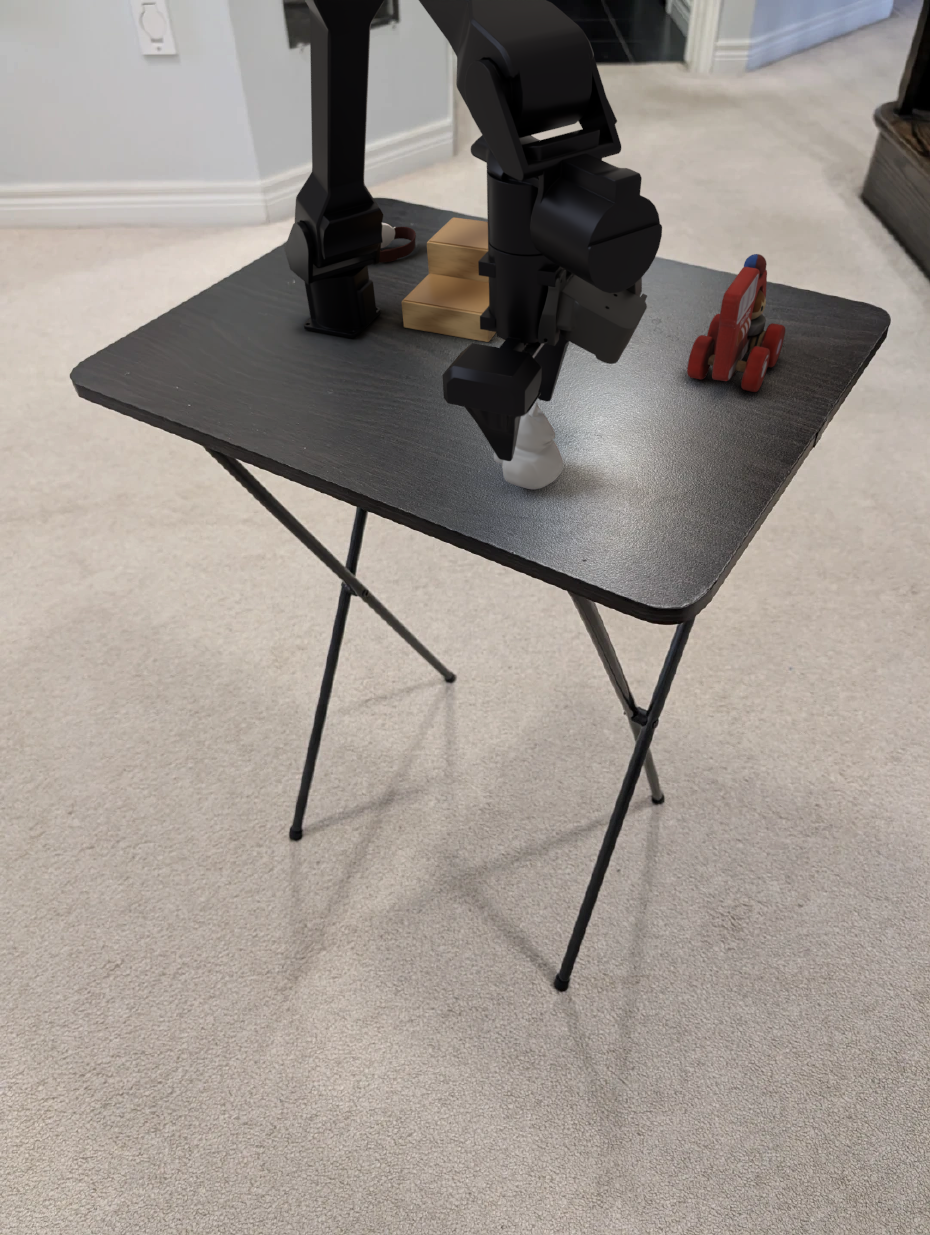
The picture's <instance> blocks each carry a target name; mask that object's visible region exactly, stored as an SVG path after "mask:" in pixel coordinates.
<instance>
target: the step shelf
mask: <svg viewBox="0 0 930 1235" xmlns="http://www.w3.org/2000/svg"><path fill="white" fill-rule="evenodd" d="M426 250H427V254H426V255H427V267H428V274H427V275H426V276H425V277H424V278H423V279H422V280H421V281H420V282H419V283H418V284H417V285H416V286H415V287H414V288H413V289H412V290H411V291H410V292H409V293H408V294H407V295H406V296H405V297H404V298H403V299H402V300H401V311H402V312H401V313H402V321H403V328H406V329H411V330H418V331H422V332H423V331H424V332H429V333H434V334H440V335H445V336H451V337H456V338H461V339H467V340H468V339H469V340H474V341H479V342H484V343H485V342H486V343H489V342H490V341H491V340H492V338H494V336H495V335H496V334H497V332H493V331H487V330H482V329H480V316H481V315H482V313H483V312H484V311H485V310H486V309H487V307H488V306H489V277H486V276H480V275H479V269H478V261H479V260H480V259H481V258H482V257H483V256H484V255H485V254H486V253H487V252H488V221H485V220H478V219H477V220H476V219H469V218H461V217H452V218H451V219H449V221H448V222H446V223H445V224H444V225H443V226H442V227H441V228H440V229H439V230H437V232H436V233H434V235H432V236H431V238H430V239H428V241H427V242H426Z"/></svg>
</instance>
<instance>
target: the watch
mask: <svg viewBox="0 0 930 1235" xmlns="http://www.w3.org/2000/svg"><path fill="white" fill-rule="evenodd" d="M416 237H417V232H416V231H415V230H414V229H413V228H411V227H409V226H394V227H393V226H391V225H390V224H388V223H386V222H383V221H382V241H383V242H382V243H381V249H383V250H381V251H380V262H379V263H389V262H395V261H396V260H399V259H402V258H405V257H407V256H409V255H410V254H412V253H413V251H414V250H415V248H416ZM399 239H404V240H408V241H409V242H408V243H406V244H404V245H401V246H397V247H393V248H386V247H388V246H389V245H390V244H391V243H392V242H393V240H399ZM384 248H386V249H384Z"/></svg>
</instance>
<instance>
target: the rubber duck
mask: <svg viewBox="0 0 930 1235" xmlns="http://www.w3.org/2000/svg"><path fill="white" fill-rule="evenodd" d="M538 404H539V403H538V401H536V402H535V403H534V405H533V406H532V408H531V409H530V411H529V412H528V413H527V414H525V415H524V416H521V419H520V424H519V430H518V436H517V441H516V447H515V451H514V456H513V459H512V460H511V461H505V460H501V459H499V458H498V457H497V455H496V453H495V452H494V451H493V460H494V462H496V463H497V464H499V465H501V466H502V474H503V478H504V480H505V481H506V483H508V484H511V485H514V486H517V487H520V488H524V489H528V490H539V489H542V488H544V487H547V486H548V485H551V483H553V482H554V481H556V480H557V479H558V477H559V476H560V475H561V473H563V470H564V459H563V457H562V454H561V451H560V449H559V447H558V445H557V443H556V442H555V440H554V439H555V438H556V432H555V429H554V428H553V426H552V424H551V423H550V421H549V419H548V417H547V416H546V414H545V413H544V412H543V411H542V410H541V408H540V406H539V405H538Z"/></svg>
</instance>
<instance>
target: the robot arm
mask: <svg viewBox="0 0 930 1235" xmlns="http://www.w3.org/2000/svg"><path fill="white" fill-rule="evenodd" d="M304 1H305V3H306V5H307V7H308V11H309V44H310V46H309V47H310V50H309V51H310V54H309V55H310V104H311V105H310V108H311V109H310V110H311V114H310V115H311V173H310V174H309V176H308V177H307V179H306V181H305V182H304V183H303V185H302V187H301V188H300V190H299V192H298V193H297V194H296V196H295V208H294V222H293V223H292V227H291V228H290V231H289V235H288V238H287V240H286V242H285V245H284V253H285V256H286V260H287V263H288V264H287V265H288V267H289V269H290V271H291V272H293V273H294V274H295V275H296V276H297V277H298V278H300V279H301V280H302V281H303V282H304V288H305V293H306V299H307V300H306V301H307V304H308V305H307V306H308V310H309V311H308V312H309V316H310V317H309V318H308V319H307V320H306V321H305V322H304V323H303V324H302V325H303V329H304V330H305V331H312V332H317V333H323V334H329V335H333V336H338V337H344V338H350V339H354V338H356V337H358V336H359V335H360V334H361V333H362V332H363V331H364V330H365V329H366V328H367V327H368V326H369V325H371V323H372V322H374V321H375V319H376V318H377V317H378V316H380V314H381V308H380V307H378V306H377V305H376V304H377V302H376V296H375V295H376V294H375V287H374V281H373V279H371V278H370V275H369V267H368V266H371V265H377V264H380V263H381V262H380V251H382V250H381V249H382V248H381V243H382V242H383V241H382V222H383V220H384V213H383V211H382V210H381V208H380V206H379V205H378V203H377V201H376V200H375V198H374V197H373V195H372V194H371V192H370V190H369V189H368V187H367V186H366V184H365V167H366V144H367V142H366V141H367V122H368V121H367V119H368V97H369V96H368V93H369V92H368V91H369V70H370V47H371V46H370V45H371V27H372V22H373V20H374V19H375V17H376V15H377V14H378V12H379V11H380V9H381V8H382V5H383V4H384V2H385V0H304ZM418 1H419V3H420V4H421V6H422V7H423V8H424V10H425V11H426V12H427V14H428V16H429V17H430V18H431V19H432V21H433V22H434V24H435V25H436V27H438V29H439V30H440V32H441V33H442V34H443V36H444V37H445V39H446V40H447V41H448V43H449V45H450V47H451V49H452V50H453V53H454V54H455V56H456V79H455V80H456V82H455V83H456V89H457V91H458V93H459V95H460V96H461V98H462V100H463V102H464V104H465V105H466V107H467V109H468V111H469V113H470V115H471V118H472V119H473V121H474V124H475V125H476V127H477V128H478V130H479V132H480V133H481V136H479V137H478V138H477V139H476V140H475V141H474V142H473V143H472V144H471V146H470V153H471V155H472V156H473V157H474V158H476V159H478V160H480V161H482V162H484V163H486V208H487V210H486V211H487V212H486V213H487V222H488V252H487V253H486V254H485V255H484V256H483V257H482V258H481V259H480V260H479V261H478V269H479V275H480V276H486V277H489V306H488V307H487V309H486V310H485V311H484V312H483V313H482V315H481V316H480V329H482V330H487V331H493V332H496V336H497V337H498V338H500V339H501V340H504V341H503V342H502V344H501V345H500V346H499V347H498V346H491V345H486V344H482V343H481V344H480V343H474V342H471V343H470V344H469V345H468V346H467V347H466V348H464V349H463V350H462V351H461V352H460V353H459V354H458V355H457V357H456V358H454V360H453V361H452V363H451V364H450V365H449V367H448V368H447V369H446V370H445V371H444V372H443V373H442V378H441V379H442V391H443V399H444V401H445V402H446V403H447V405H448V404H449V405H453V406H457V407H463V408H464V409H465V410H466V411H467V413H468V414H469V416H471V417H472V419H473V420H474V422H475V424H476V425H477V426H478V428H479V429H480V431H481V432H482V434H483V436H484V437H485V439H486V440H487V442H488V444H489V445H490V447H491V448H492V450H493V453H494V452H495V453H496V455H497V457H498V458H499V459H501V460H505V461H511V460H512V459H513V456H514V451H515V447H516V441H517V436H518V430H519V424H520V419H521V416H524V415H525V414H527V413H528V412H529V411H530V409H531V408H532V407H533V406H534V405H535V403H536V402H537V401H538V400H539V401H543V402H551V400H552V399H553V396H554V393H555V389H556V386H557V383H558V379H559V377H560V373H561V370H562V367H563V363H564V360H565V357H566V354H567V350H568V347H569V345H570V343H571V344H573V345H575V346H577V347H579V348H581V349H582V350H584V351H586V352H588V353H590V354H592V355H594V356H595V358H596V359H597V360H598V361H600V362H602V363H604V364H607V365H614V364H617V363H618V361H619V360H620V358H621V357H622V355H623V354H624V351H625V350H626V348H627V346H628V345H629V343H630V341H631V339H632V338H633V335H634V333H635V332H636V329H637V328H638V325H639V324H640V322H641V320H642V318H643V316H644V314H645V312H646V310H647V308H648V305H647V303H646V300H647V298H648V295H647V294H645V293H642V291H643V277H644V275H645V274H646V273H647V272H648V271H649V269H650V267H651V266H652V264H653V262H654V260H655V259H656V256H657V254H658V251H659V249H660V245H661V241H662V238H663V225H662V224H661V220H660V215H659V212H658V209H657V206H656V205H655V204H654V203H653V202H652V201H651V200H650V199H649V198H647V197H645V196H643V195H641V189H642V175H641V173H640V172H638V171H635V170H633V169H631V168H628V167H619V166H615V165H614V164H611V163H609V162H607V161H605V160H603V159H604V158H608V157H611V156H615V155H619V154H620V153H621V151H622V143H621V140H620V137H619V132H618V130H617V128H616V124H617V122H618V120H617V117H616V115H615V112H614V110H613V108H612V106H611V104H610V101H609V99H608V96H607V94H606V91H605V87H604V84H603V81H602V78H601V75H600V71H599V68H598V65H597V62H596V58H595V54H594V50H593V48H592V47H593V46H592V44H591V42H590V40H589V39H588V37H587V35H586V33H585V32H584V30H583V29H582V28H581V27H580V26H579V25H578V24H577V23H576V22H574V20H572V18H570V17H569V16H568V15H567V14H565V13H564V12H563V11H562V10H561V9H560V8H558V7H557V5H555V4H554V3H552V2H551V1H548V0H418ZM577 123H578V124H579V126H580V127H581V129H578V130H574V131H570V132H566V133H562V134H559V135H555V136H550V137H547V138H543V139H539V138H536V137H534V135H537V134H541V133H544V132H545V133H546V132H549V131H554V130H556V129H561V128H565V127H568V126H572V125H575V124H577Z"/></svg>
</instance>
